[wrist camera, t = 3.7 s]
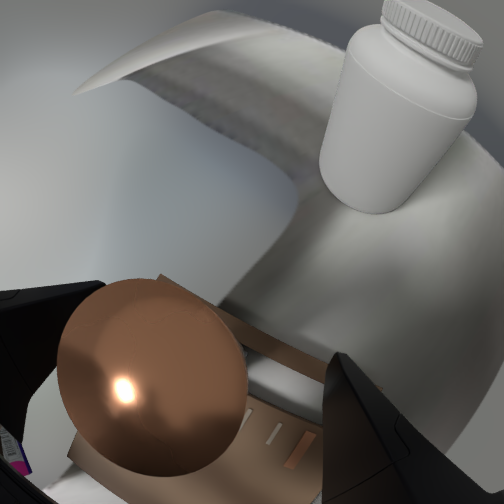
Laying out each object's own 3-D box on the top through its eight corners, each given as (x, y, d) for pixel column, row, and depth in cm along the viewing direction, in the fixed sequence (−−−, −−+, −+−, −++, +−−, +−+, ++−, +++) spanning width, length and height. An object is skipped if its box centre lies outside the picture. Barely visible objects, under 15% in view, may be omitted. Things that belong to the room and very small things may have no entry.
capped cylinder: (235, 394, 16) (185, 508, 3) (184, 366, 16) (36, 394, 4) (263, 345, 17) (288, 346, 4) (212, 317, 17) (111, 243, 5)
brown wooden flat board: (256, 552, 11) (256, 560, 10) (73, 452, 14) (65, 456, 13) (376, 386, 16) (383, 388, 15) (165, 277, 18) (159, 273, 17)
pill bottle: (309, 134, 22) (342, -30, 8) (391, 141, 22) (457, 10, 8) (323, 217, 20) (406, 21, 5) (416, 218, 20) (533, 87, 5)
